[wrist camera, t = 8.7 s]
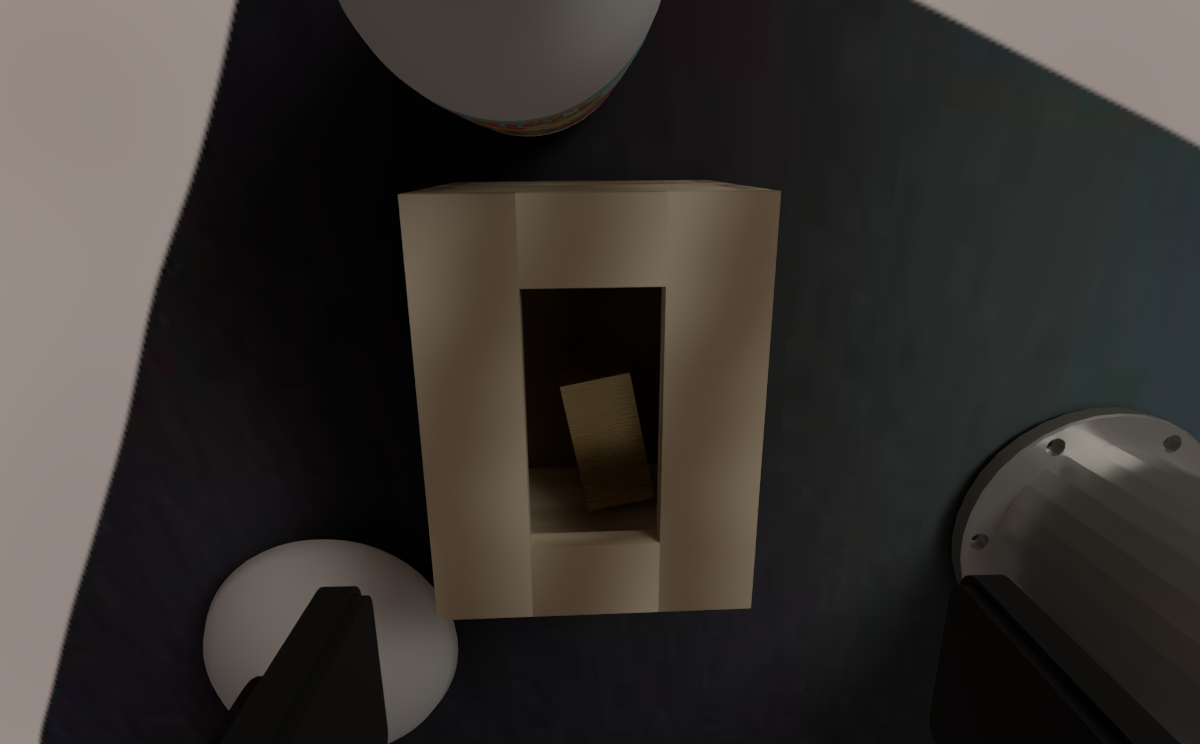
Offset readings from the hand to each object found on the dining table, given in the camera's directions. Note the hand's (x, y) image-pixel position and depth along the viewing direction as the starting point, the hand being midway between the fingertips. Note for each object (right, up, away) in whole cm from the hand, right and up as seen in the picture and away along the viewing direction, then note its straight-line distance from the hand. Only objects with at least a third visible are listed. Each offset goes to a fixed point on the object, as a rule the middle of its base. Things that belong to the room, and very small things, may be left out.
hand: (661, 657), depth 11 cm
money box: (-2, +6, +18) cm, 19 cm away
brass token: (-1, +5, +15) cm, 16 cm away
